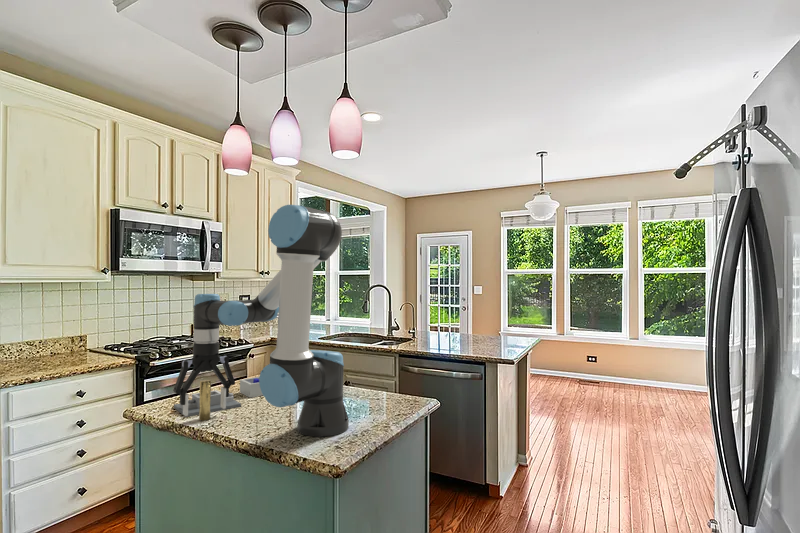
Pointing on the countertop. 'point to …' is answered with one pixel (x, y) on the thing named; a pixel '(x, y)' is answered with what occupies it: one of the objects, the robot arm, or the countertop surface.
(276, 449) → the countertop surface
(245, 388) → the tray
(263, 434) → the countertop surface
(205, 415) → the pin
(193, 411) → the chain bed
